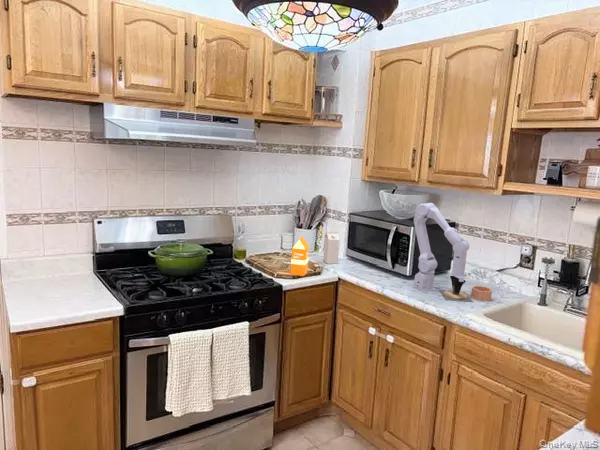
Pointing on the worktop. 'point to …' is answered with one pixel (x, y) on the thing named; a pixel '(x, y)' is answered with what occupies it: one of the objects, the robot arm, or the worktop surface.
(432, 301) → the worktop surface
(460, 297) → the lid
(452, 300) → the mat
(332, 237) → the milk carton
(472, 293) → the bowl
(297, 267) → the orange juice
